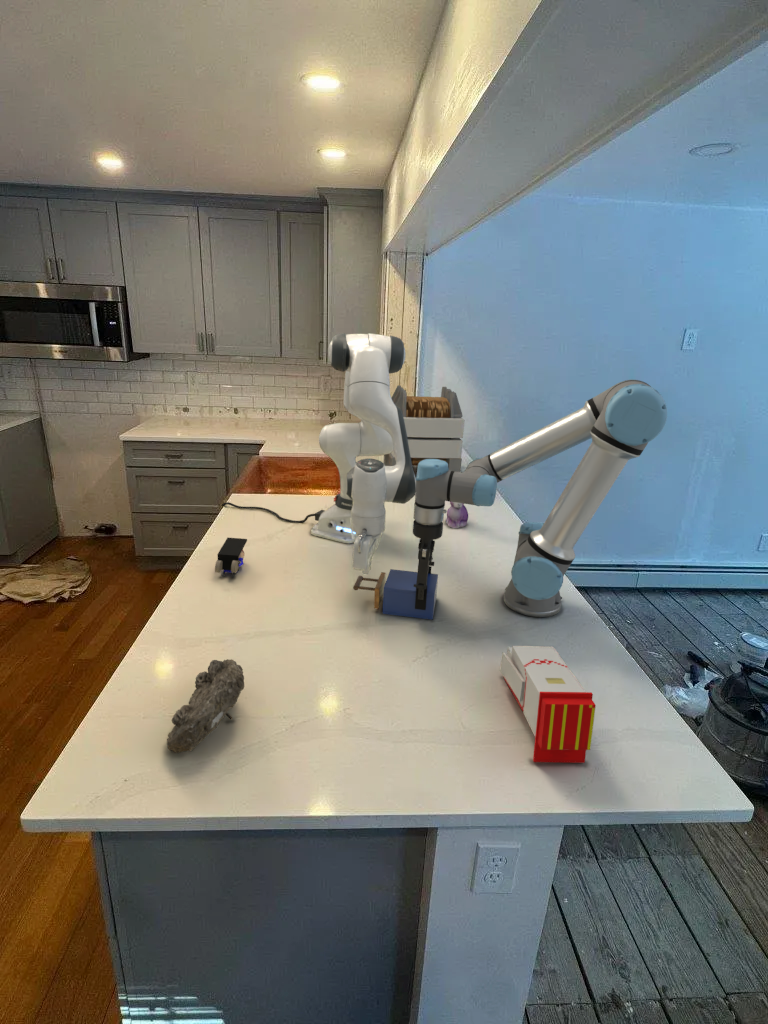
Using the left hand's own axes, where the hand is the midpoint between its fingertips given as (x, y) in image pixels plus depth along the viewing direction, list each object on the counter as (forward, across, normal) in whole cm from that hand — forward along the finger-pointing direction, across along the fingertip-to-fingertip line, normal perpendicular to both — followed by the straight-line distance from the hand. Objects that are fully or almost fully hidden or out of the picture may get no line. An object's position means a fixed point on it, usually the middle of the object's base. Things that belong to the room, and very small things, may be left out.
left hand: (366, 572), depth 150 cm
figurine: (+8, +66, -21) cm, 70 cm away
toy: (+10, -36, -42) cm, 56 cm away
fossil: (+10, -51, +19) cm, 55 cm away
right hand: (+6, 0, -15) cm, 16 cm away
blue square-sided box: (+9, 0, -12) cm, 15 cm away
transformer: (+7, +131, 0) cm, 132 cm away
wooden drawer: (+8, 0, -6) cm, 10 cm away
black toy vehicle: (+8, +9, +42) cm, 44 cm away
